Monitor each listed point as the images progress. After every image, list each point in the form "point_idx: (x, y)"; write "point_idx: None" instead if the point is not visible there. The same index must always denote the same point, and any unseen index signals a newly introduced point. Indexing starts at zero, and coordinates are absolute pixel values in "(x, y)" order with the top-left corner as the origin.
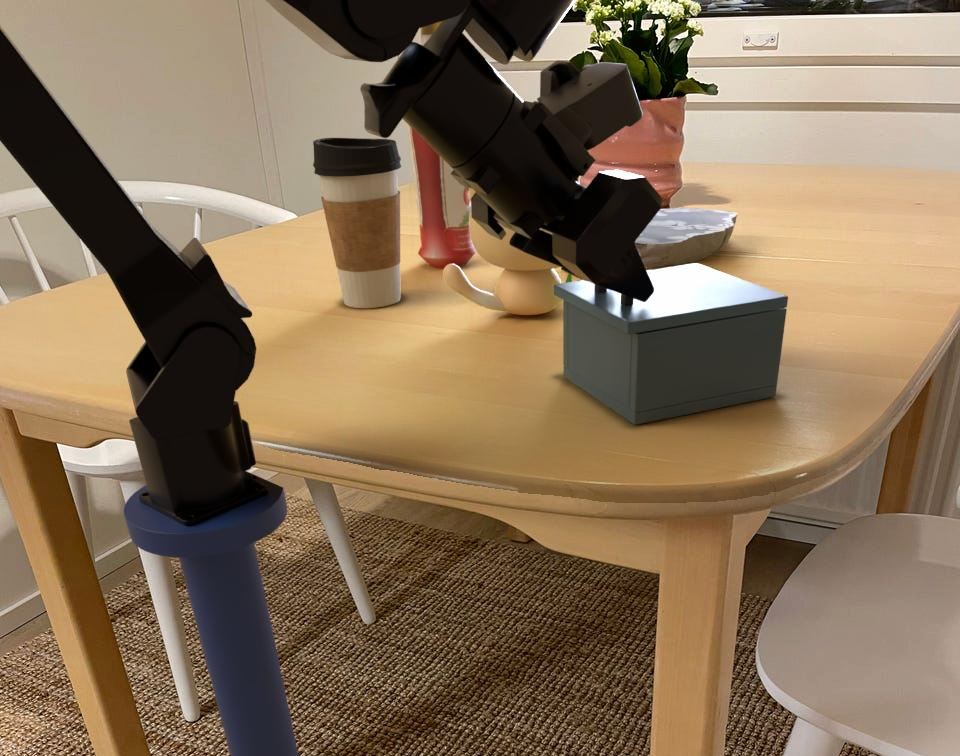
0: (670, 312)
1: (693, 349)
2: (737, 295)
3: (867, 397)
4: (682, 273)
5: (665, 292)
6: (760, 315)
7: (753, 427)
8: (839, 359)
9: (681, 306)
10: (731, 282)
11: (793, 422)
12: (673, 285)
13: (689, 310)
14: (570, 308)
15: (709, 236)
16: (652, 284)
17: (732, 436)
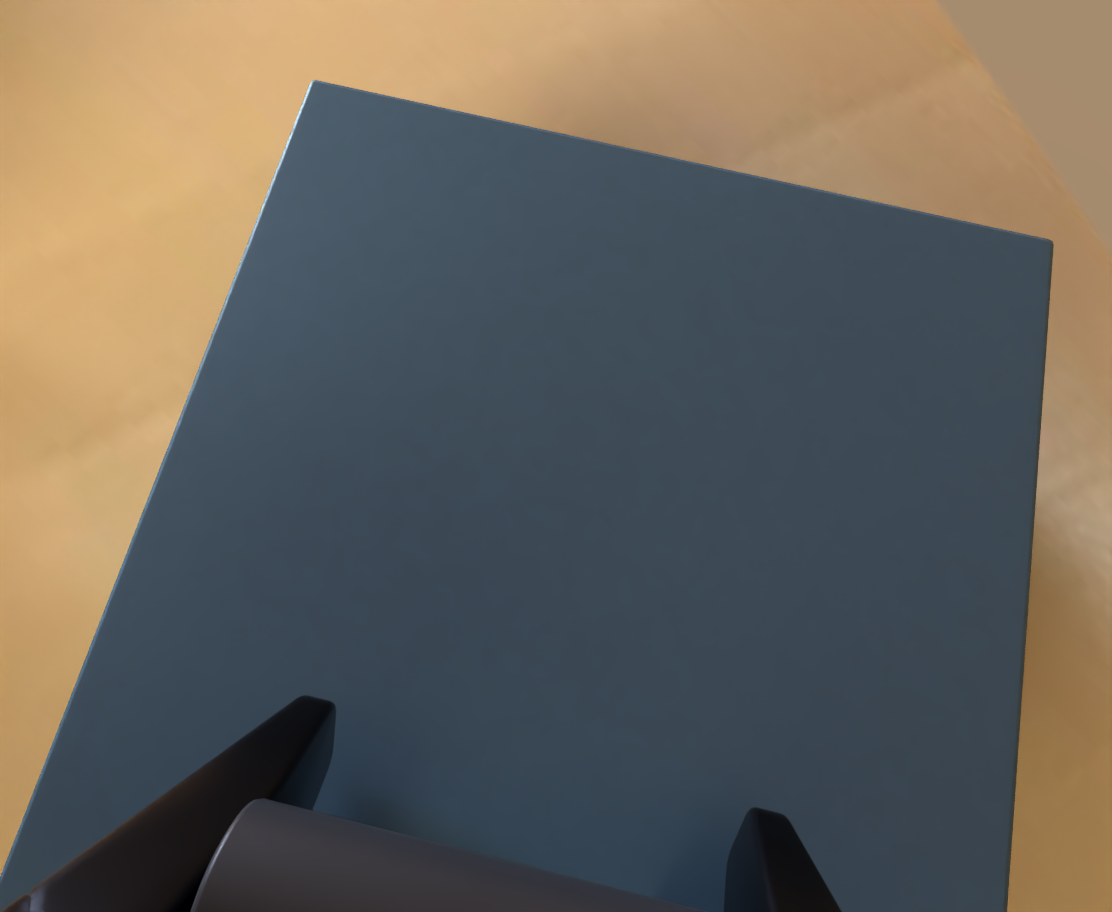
0: (959, 863)
1: None
2: (908, 380)
3: (1021, 226)
4: (403, 261)
5: (622, 585)
6: None
7: (1029, 645)
8: (742, 45)
9: (897, 727)
10: (706, 232)
11: (1061, 523)
12: (546, 456)
13: (985, 753)
14: None
15: None
16: (804, 847)
17: (1054, 754)
